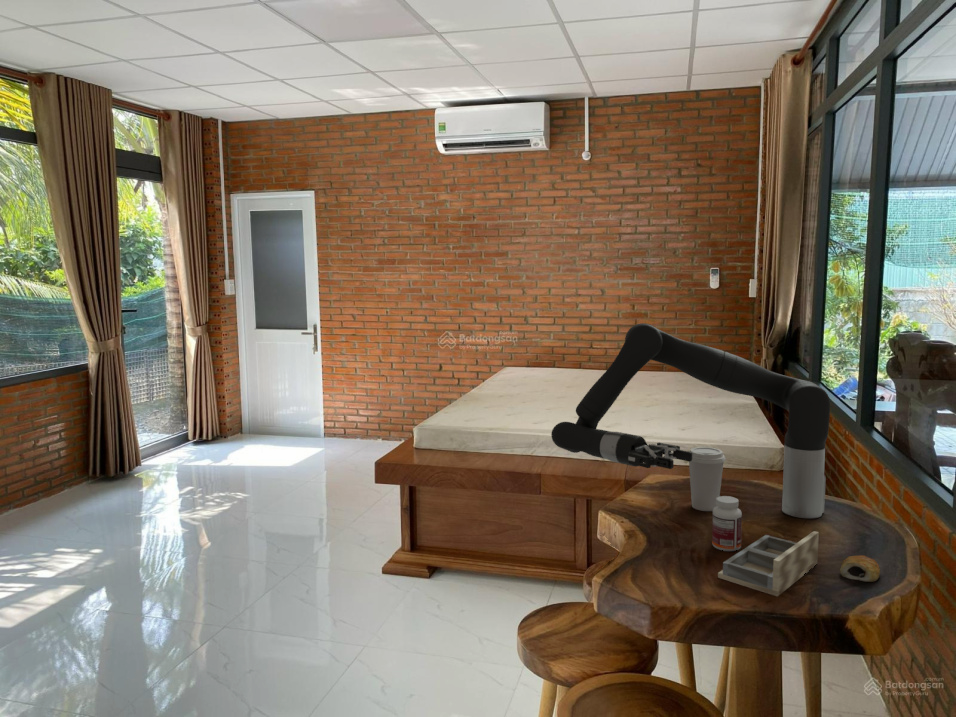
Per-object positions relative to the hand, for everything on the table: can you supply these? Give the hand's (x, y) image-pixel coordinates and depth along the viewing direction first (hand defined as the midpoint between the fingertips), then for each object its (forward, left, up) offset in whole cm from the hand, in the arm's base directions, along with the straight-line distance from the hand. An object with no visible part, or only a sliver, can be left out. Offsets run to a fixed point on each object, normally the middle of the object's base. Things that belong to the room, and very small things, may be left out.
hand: (682, 460), depth 163 cm
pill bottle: (-3, +11, -18) cm, 21 cm away
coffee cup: (-19, -10, -18) cm, 28 cm away
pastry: (-15, +34, -18) cm, 42 cm away
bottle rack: (0, +24, -18) cm, 30 cm away
